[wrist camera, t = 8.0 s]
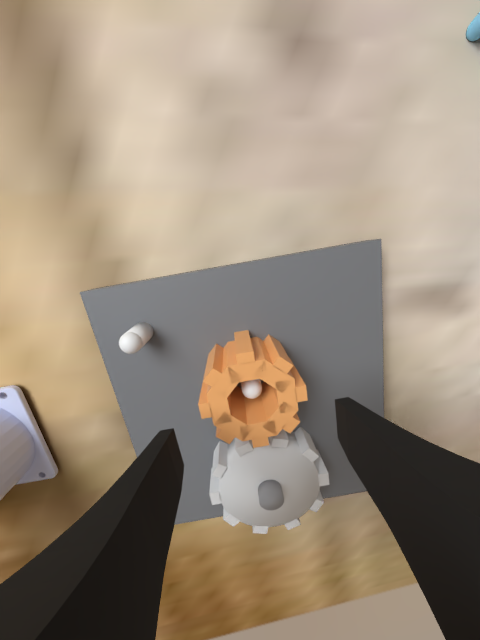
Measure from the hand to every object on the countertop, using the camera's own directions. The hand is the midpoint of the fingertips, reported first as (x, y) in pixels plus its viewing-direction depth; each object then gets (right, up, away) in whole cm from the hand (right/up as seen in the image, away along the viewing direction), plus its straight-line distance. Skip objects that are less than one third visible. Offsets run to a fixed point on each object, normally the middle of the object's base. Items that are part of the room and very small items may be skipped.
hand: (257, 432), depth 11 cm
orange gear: (0, +1, +5) cm, 6 cm away
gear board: (0, -1, +8) cm, 8 cm away
